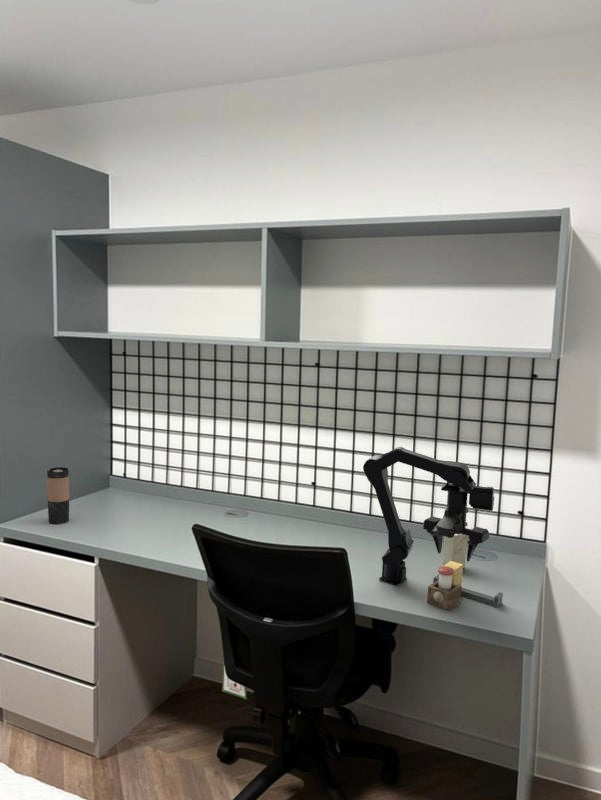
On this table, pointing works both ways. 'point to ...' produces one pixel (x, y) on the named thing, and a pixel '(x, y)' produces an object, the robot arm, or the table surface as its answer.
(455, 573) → the block
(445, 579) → the plunger
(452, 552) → the skincare box
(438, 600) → the brown wooden box
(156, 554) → the table surface
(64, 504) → the travel mug
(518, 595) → the table surface
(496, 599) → the rail
